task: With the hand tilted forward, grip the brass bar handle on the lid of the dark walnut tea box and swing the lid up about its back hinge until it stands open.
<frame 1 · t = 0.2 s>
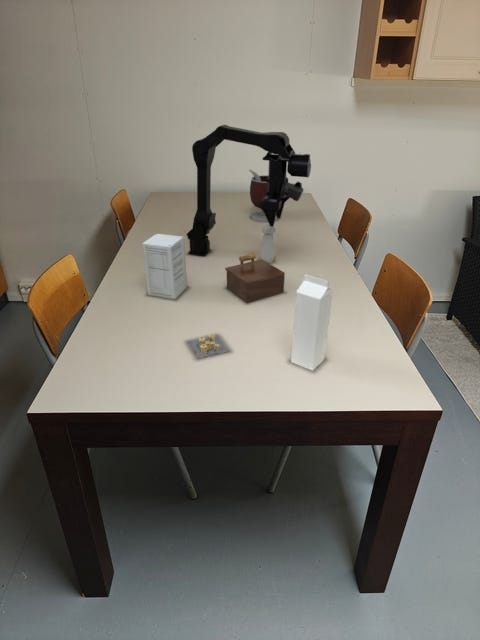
hand: (275, 222, 155), 15 cm above the table, tool pointing down, fingers open, 9 cm apart
salt shaker: (267, 261, 163), on the table
dice set: (207, 347, 115), on the table
mate gourd: (263, 217, 207), on the table
tea lid: (254, 266, 139), point 8 cm above the table, hinge at 0.0°
tea box: (254, 290, 143), on the table
supplement box: (168, 291, 142), on the table
milk: (307, 361, 110), on the table
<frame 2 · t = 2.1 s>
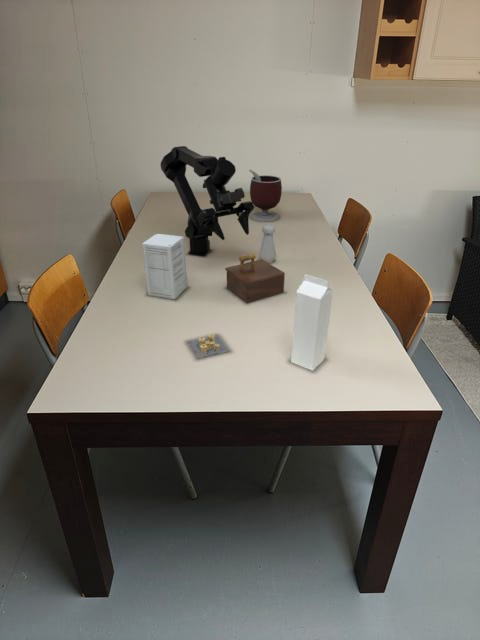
hand: (236, 236, 146), 13 cm above the table, tool tilted 45°, fingers open, 9 cm apart
nothing on the table moved.
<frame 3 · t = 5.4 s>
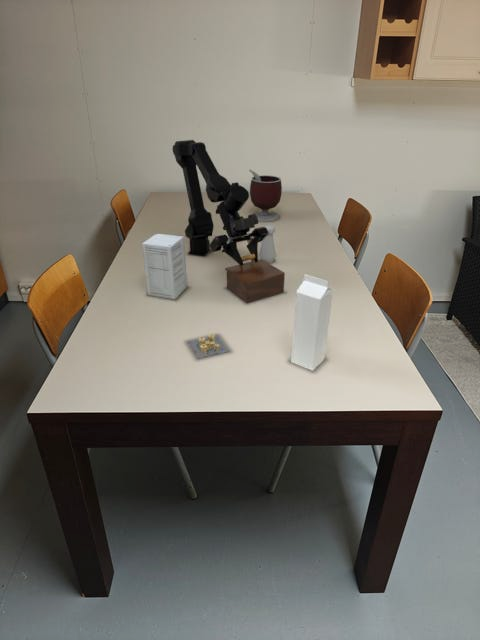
hand: (249, 263, 141), 8 cm above the table, tool tilted 45°, fingers closed on tea lid, 5 cm apart
tea lid: (254, 266, 139), point 8 cm above the table, hinge at 0.0°, touching gripper
everything else where it was.
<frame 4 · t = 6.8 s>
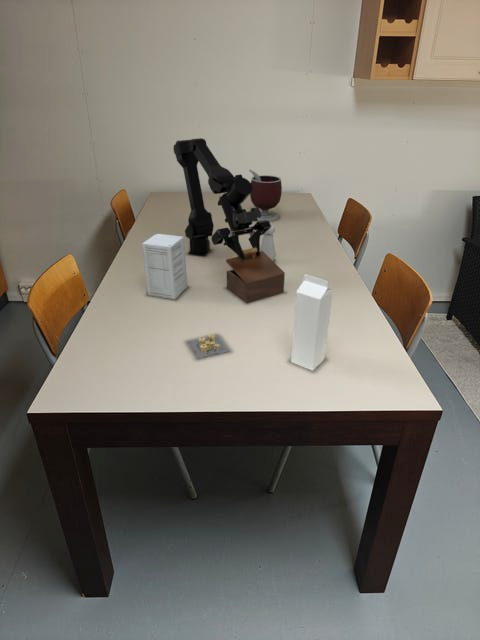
hand: (251, 257, 139), 10 cm above the table, tool tilted 40°, fingers closed on tea lid, 5 cm apart
tea lid: (256, 262, 138), point 10 cm above the table, hinge at 13.7°, touching gripper
everything else where it was.
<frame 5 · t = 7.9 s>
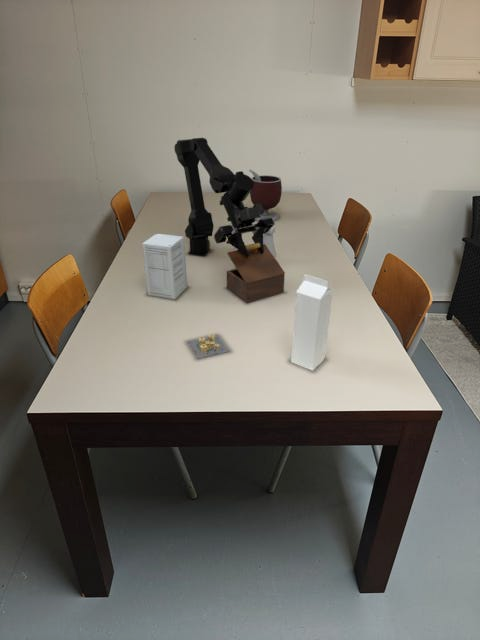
hand: (255, 254, 137), 12 cm above the table, tool tilted 45°, fingers closed on tea lid, 5 cm apart
tea lid: (257, 259, 137), point 11 cm above the table, hinge at 27.2°, touching gripper
everything else where it was.
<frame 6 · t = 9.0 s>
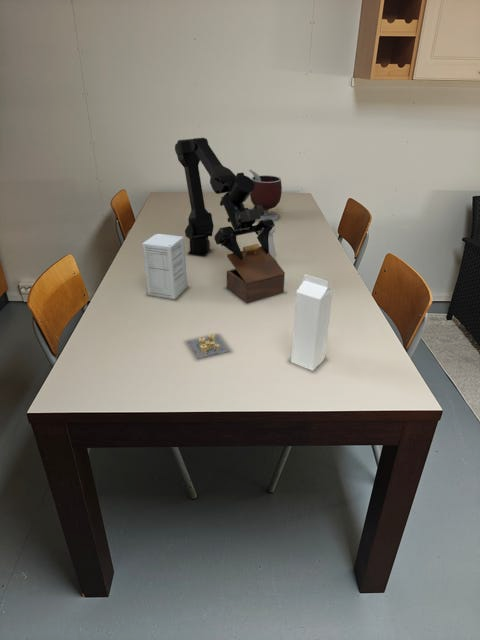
hand: (255, 256, 137), 11 cm above the table, tool tilted 45°, fingers open, 9 cm apart
tea lid: (257, 260, 137), point 10 cm above the table, hinge at 23.1°
everything else where it was.
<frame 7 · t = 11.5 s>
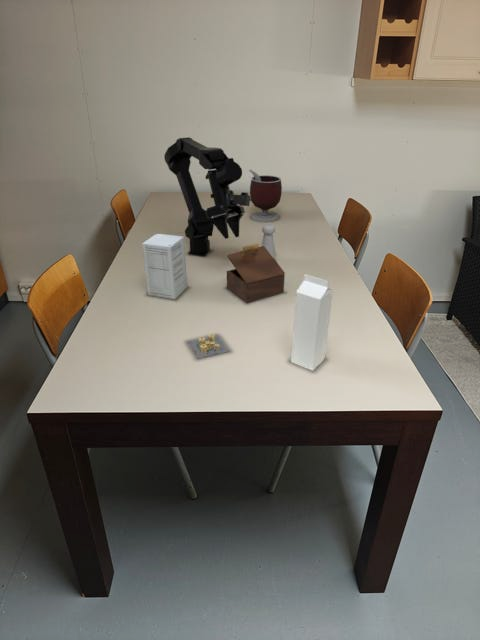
hand: (232, 237, 148), 13 cm above the table, tool tilted 25°, fingers open, 9 cm apart
nothing on the table moved.
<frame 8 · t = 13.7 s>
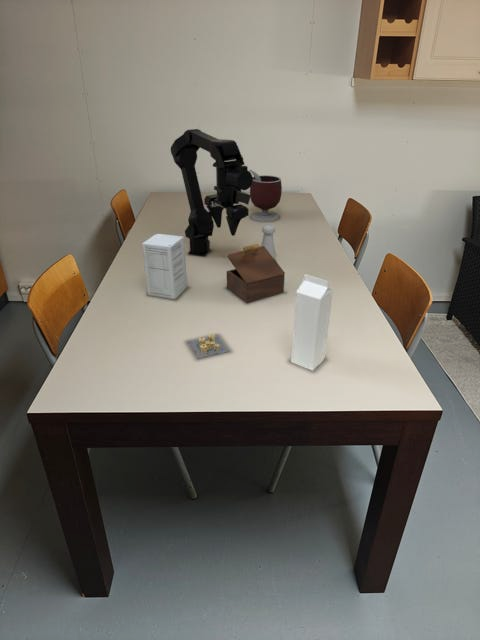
hand: (225, 231, 151), 13 cm above the table, tool pointing down, fingers open, 9 cm apart
nothing on the table moved.
at the end: tea lid at +23° (first picture: +0°); the gripper is holding nothing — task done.
